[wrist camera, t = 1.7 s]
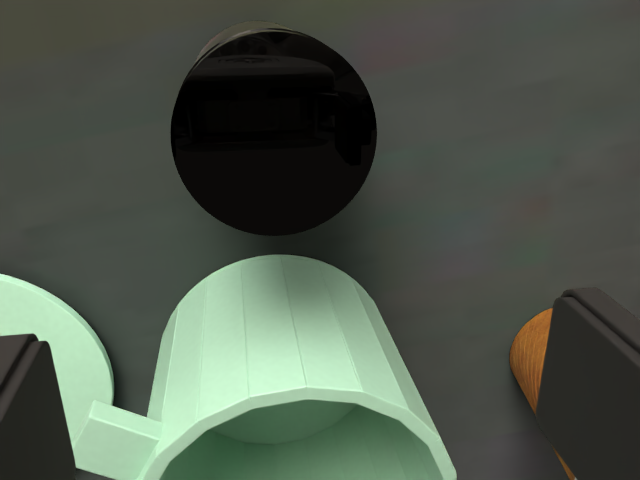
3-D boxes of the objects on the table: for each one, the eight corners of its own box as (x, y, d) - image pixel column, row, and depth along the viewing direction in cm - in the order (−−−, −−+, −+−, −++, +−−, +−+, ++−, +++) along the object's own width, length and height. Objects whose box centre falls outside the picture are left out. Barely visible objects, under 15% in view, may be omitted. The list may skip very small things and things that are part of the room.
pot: (177, 191, 30) (149, 305, 19) (461, 326, 36) (567, 473, 25) (77, 388, 33) (4, 580, 22) (350, 481, 39) (400, 671, 28)
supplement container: (224, -10, 26) (224, -14, 17) (351, 61, 29) (415, 93, 19) (166, 123, 28) (136, 188, 19) (289, 181, 30) (319, 265, 21)
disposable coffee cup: (543, 431, 40) (664, 596, 29) (454, 359, 36) (553, 516, 25) (652, 336, 38) (825, 474, 27) (570, 251, 35) (729, 369, 24)
